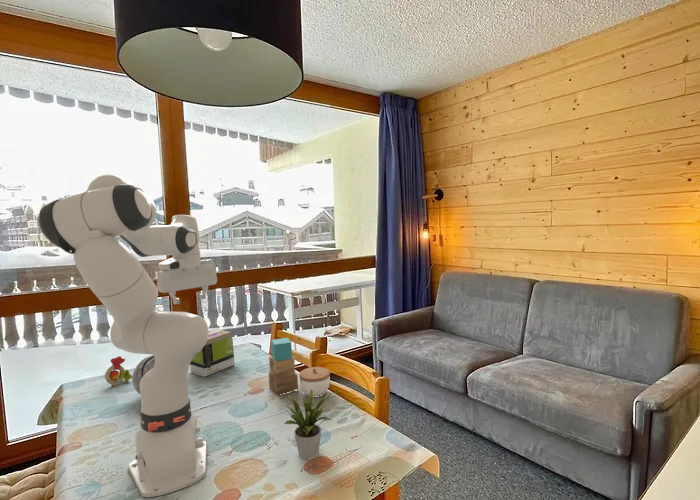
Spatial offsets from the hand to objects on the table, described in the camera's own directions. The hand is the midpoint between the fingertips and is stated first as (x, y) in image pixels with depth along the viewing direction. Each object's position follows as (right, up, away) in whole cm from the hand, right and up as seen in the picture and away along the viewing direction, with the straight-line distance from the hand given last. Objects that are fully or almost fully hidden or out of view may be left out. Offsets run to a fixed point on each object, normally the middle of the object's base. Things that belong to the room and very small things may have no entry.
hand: (190, 301), depth 136 cm
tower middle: (+31, -27, +5) cm, 42 cm away
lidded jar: (+44, -33, +1) cm, 55 cm away
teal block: (+31, -21, +5) cm, 38 cm away
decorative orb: (-13, -35, +4) cm, 37 cm away
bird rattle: (-34, -34, +16) cm, 51 cm away
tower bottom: (+32, -33, +5) cm, 46 cm away
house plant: (+46, -36, -35) cm, 68 cm away
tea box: (-2, -32, +28) cm, 43 cm away
